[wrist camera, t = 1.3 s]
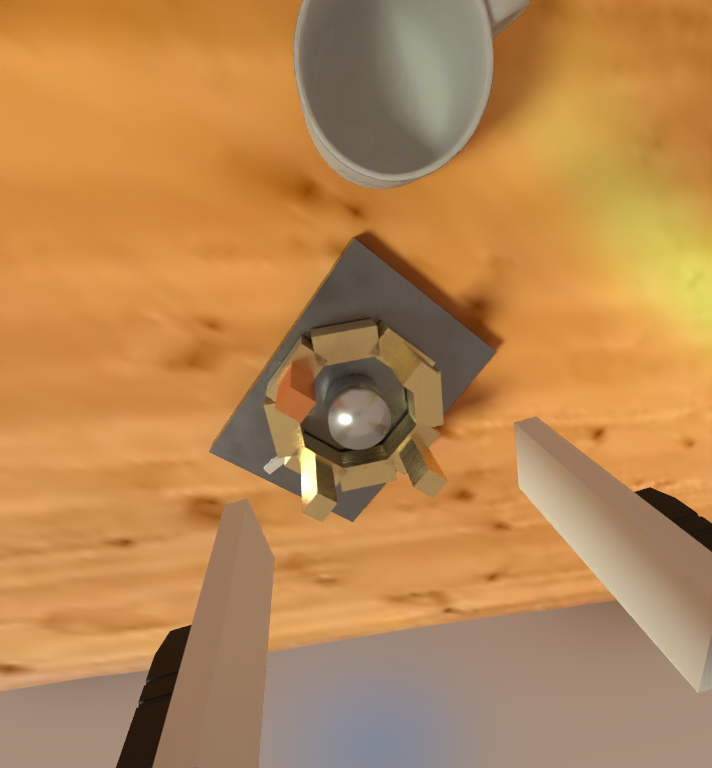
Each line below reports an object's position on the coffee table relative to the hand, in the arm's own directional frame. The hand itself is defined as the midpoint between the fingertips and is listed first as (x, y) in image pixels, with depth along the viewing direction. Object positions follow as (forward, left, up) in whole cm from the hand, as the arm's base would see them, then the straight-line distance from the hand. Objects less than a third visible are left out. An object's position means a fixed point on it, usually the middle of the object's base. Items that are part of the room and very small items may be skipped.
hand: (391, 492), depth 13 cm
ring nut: (+5, -4, -20) cm, 21 cm away
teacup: (-6, +16, -22) cm, 28 cm away
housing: (+5, -4, -21) cm, 22 cm away
